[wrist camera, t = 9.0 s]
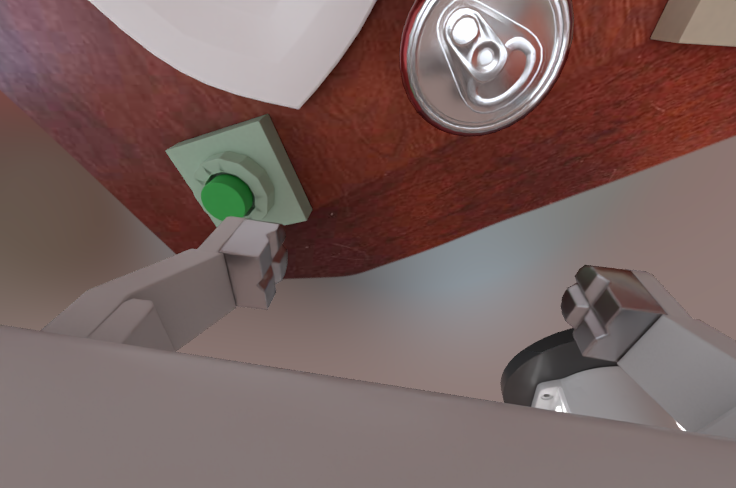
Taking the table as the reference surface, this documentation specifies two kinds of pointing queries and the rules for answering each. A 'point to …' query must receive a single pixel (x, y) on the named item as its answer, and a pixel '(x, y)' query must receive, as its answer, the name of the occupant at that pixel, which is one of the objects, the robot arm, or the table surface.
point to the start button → (226, 197)
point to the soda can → (483, 60)
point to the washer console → (698, 22)
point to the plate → (246, 41)
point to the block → (246, 169)
